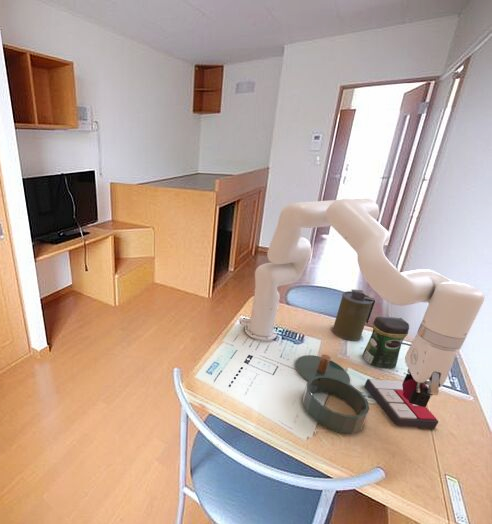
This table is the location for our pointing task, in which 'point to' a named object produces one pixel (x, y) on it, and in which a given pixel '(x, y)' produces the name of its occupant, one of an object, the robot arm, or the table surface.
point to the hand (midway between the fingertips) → (413, 395)
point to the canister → (353, 314)
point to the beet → (410, 387)
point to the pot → (329, 417)
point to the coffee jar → (385, 342)
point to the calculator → (399, 404)
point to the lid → (320, 368)
